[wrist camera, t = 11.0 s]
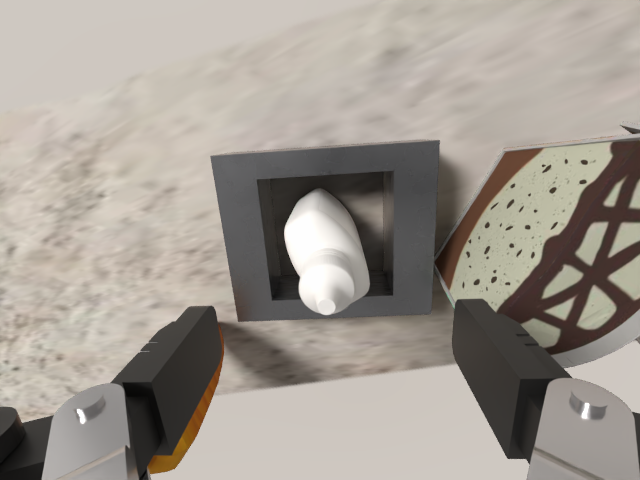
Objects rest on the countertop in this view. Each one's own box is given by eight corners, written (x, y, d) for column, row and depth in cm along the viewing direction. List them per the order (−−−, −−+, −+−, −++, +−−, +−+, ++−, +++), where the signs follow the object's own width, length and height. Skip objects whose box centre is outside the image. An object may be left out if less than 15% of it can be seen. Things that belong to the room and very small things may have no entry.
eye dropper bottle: (356, 183, 22) (382, 232, 11) (360, 257, 24) (386, 365, 13) (295, 188, 23) (258, 241, 11) (303, 261, 24) (279, 370, 13)
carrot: (185, 344, 27) (23, 574, 13) (186, 293, 26) (4, 490, 11) (242, 353, 27) (145, 591, 13) (247, 303, 26) (142, 510, 11)
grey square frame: (420, 139, 21) (439, 140, 17) (415, 286, 25) (431, 313, 21) (231, 152, 22) (210, 155, 18) (252, 294, 25) (238, 321, 22)
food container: (487, 310, 25) (581, 415, 16) (420, 279, 24) (476, 369, 15) (592, 168, 22) (799, 192, 12) (517, 127, 21) (672, 118, 11)
